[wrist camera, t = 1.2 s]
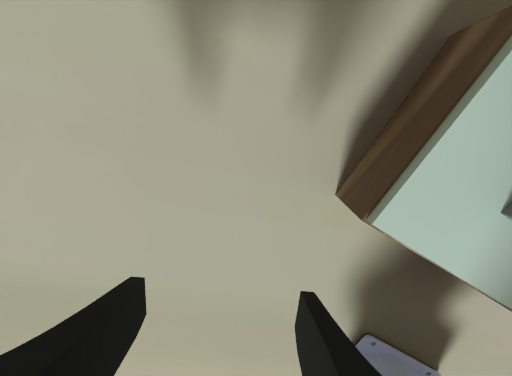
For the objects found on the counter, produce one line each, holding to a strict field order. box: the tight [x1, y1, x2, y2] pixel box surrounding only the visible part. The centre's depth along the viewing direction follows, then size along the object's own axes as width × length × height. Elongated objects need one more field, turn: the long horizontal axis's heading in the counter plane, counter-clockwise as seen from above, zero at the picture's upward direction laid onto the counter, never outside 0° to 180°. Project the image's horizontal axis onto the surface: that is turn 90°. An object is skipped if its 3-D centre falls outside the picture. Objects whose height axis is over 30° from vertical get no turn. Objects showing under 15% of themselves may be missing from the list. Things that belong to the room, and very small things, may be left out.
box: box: [336, 6, 512, 311], centre depth 17 cm, size 14×14×6 cm
